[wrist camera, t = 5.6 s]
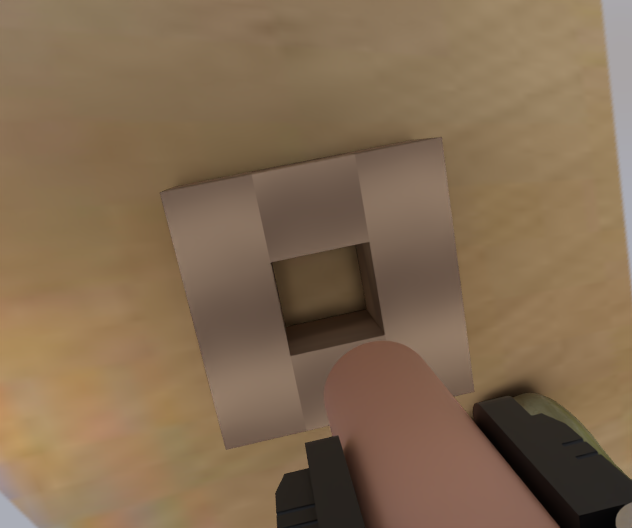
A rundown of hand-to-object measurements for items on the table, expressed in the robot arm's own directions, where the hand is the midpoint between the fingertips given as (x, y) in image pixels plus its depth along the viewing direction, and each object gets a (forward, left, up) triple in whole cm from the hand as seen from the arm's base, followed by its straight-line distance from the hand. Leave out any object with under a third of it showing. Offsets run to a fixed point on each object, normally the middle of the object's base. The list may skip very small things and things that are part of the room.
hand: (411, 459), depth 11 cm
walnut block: (0, 0, -16) cm, 16 cm away
